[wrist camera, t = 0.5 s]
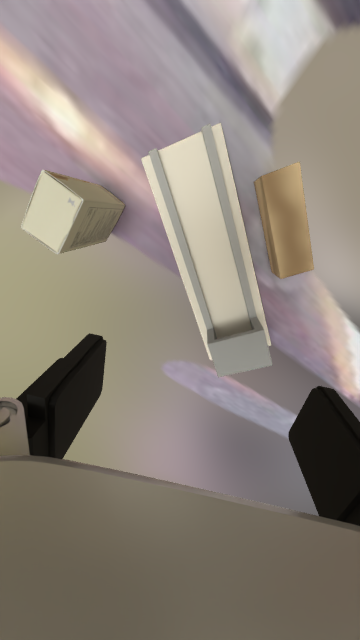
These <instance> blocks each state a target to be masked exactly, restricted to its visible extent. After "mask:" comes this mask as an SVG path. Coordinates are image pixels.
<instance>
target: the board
mask: <svg viewBox="0 0 360 640" xmlns="http://www.w3.org/2000/svg"><path fill="white" fill-rule="evenodd" d="M141 160H142V163H143V166H144V169H145V172H146V174H147V177H148V180H149V183H150V186H151V189H152V192H153V195H154V198H155V201H156V204H157V207H158V210H159V213H160V215H161V218H162V221H163V224H164V227H165V230H166V233H167V236H168V239H169V242H170V245H171V248H172V251H173V254H174V256H175V259H176V262H177V265H178V268H179V271H180V274H181V277H182V280H183V283H184V286H185V289H186V291H187V294H188V297H189V300H190V303H191V306H192V309H193V312H194V315H195V318H196V321H197V324H198V327H199V329H200V333H201V336H202V339H203V341H204V344H205V347H206V350H207V353H208V356H209V359H210V360H213V363H214V366H215V369H216V372H217V375H218V377H222V376H227V375H231V374H236V373H240V372H244V371H249V370H253V369H258V368H263V367H267V366H271V365H272V361H271V356H270V352H269V348H268V346H271V342H270V337H269V333H268V329H267V324H266V320H265V315H264V311H263V307H262V302H261V298H260V293H259V289H258V285H257V280H256V276H255V271H254V267H253V263H252V258H251V254H250V250H249V245H248V241H247V236H246V232H245V228H244V223H243V219H242V214H241V210H240V206H239V201H238V197H237V192H236V188H235V184H234V179H233V175H232V171H231V166H230V162H229V157H228V153H227V149H226V144H225V140H224V135H223V131H222V127H221V123H219V124H217V125H214V126H212V127H211V124H208V125H206V126H204V127H202V131H201V132H199V133H197V134H194V135H192V136H190V137H188V138H186V139H183V140H181V141H179V142H177V143H175V144H172V145H170V146H168V147H166V148H163V149H161V150H159V151H158V150H157V149H156V148H155V149H153V150H151V151H149V155H148V156H146V157H143V158H141Z"/></svg>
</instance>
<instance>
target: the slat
mask: <svg viewBox="0 0 360 640" xmlns="http://www.w3.org/2000/svg"><path fill="white" fill-rule="evenodd" d="M254 185H255V190H256V195H257V200H258V205H259V210H260V215H261V220H262V225H263V230H264V235H265V240H266V245H267V250H268V255H269V260H270V266H271V271H272V273H273V274H275V275H276V276H277V277H279V278H280V279H282V278H286V277H289V276H293V275H296V274H300V273H303V272H307V271H310V270H313V269H314V265H313V258H312V251H311V243H310V235H309V228H308V220H307V213H306V206H305V198H304V191H303V184H302V176H301V168H300V162H297V163H294V164H292V165H289V166H287V167H284V168H282V169H279V170H276V171H274V172H271V173H268V174H266V175H263V176H261V177H260V178H259V179H257V180H256V181H255V182H254Z"/></svg>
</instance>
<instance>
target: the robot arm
mask: <svg viewBox="0 0 360 640" xmlns="http://www.w3.org/2000/svg"><path fill="white" fill-rule="evenodd" d="M105 353H106V340H103V337H102V336H99V335H94V334H88V335H87V336H86V337H85V338H84V339H83V340H82V341H81V342H80V343H79V344H78V345H77V346H76V347H74V348H73V349H72V351H70V352H69V353H68V354H67V355H66V356H65V357H64V358H60V359H58V360H57V361H56V362H55V363H54V364H53V365H52V366H51V367H49V368H48V369H47V371H45V372H44V373H43V374H42V375H41V376H40V377H39V378H38V379H37V380H36V381H35V382H34V383H33V384H31V385H30V386H29V387H28V388H27V389H26V390H25V391H24V392H23V393H22V394H21V395H20V396H19V397H18V398H17V399H13V398H6V397H2V398H0V640H360V422H359V421H358V419H357V418H356V417H355V416H354V414H353V413H352V411H351V410H350V409H349V408H348V406H347V405H346V404H345V403H344V401H343V400H342V399H341V398H340V396H339V395H338V394H337V392H336V391H335V390H334V389H331V388H326V387H322V386H318V387H317V388H314V389H312V390H311V392H310V394H309V396H308V398H307V399H306V401H305V403H304V405H303V407H302V409H301V411H300V413H299V414H298V416H297V418H296V420H295V422H294V423H293V425H292V427H291V429H290V431H289V441H290V443H291V446H292V448H293V451H294V453H295V456H296V458H297V461H298V463H299V466H300V468H301V471H302V474H303V476H304V478H305V481H306V484H307V486H308V489H309V491H310V494H311V496H312V499H313V501H314V504H315V506H316V509H317V511H318V514H319V516H316V515H311V514H307V513H303V512H299V511H295V510H290V509H286V508H282V507H278V506H273V505H269V504H264V503H260V502H256V501H252V500H247V499H243V498H239V497H234V496H230V495H226V494H221V493H217V492H213V491H208V490H204V489H199V488H195V487H191V486H186V485H182V484H177V483H173V482H168V481H164V480H159V479H155V478H151V477H146V476H142V475H137V474H133V473H128V472H123V471H119V470H114V469H110V468H105V467H100V466H95V465H90V464H85V463H81V462H76V461H70V460H64V459H63V457H64V455H65V454H66V452H67V450H68V449H69V447H70V445H71V444H72V442H73V440H74V439H75V437H76V435H77V434H78V432H79V430H80V428H81V427H82V425H83V423H84V422H85V420H86V418H87V417H88V415H89V413H90V412H91V410H92V408H93V407H94V405H95V403H96V401H97V400H98V398H99V396H100V394H101V391H102V385H103V375H104V363H105Z"/></svg>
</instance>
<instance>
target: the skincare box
mask: <svg viewBox="0 0 360 640" xmlns="http://www.w3.org/2000/svg"><path fill="white" fill-rule="evenodd" d="M124 207H125V204H124V203H122V202H121V201H120V200H119V199H118V198H116V197H115V196H114V195H113V194H111V193H110V192H109V191H107V190H106V189H105V188H103V187H102V186H100V185H97V184H94V183H90V182H86V181H83V180H79V179H76V178H72V177H69V176H65V175H61V174H57V173H54V172H50V171H46V170H42V171H41V174H40V176H39V178H38V180H37V183H36V185H35V188H34V190H33V193H32V196H31V199H30V202H29V204H28V207H27V210H26V213H25V216H24V219H23V222H22V225H21V229H23V230H24V231H26V232H27V233H29V235H31V236H32V237H34V238H35V239H36V240H37V241H39V242H40V243H42V244H43V245H44V246H46V247H47V248H48V249H50V250H51V251H53V252H54V253H56V254H60V253H64V252H67V251H71V250H75V249H79V248H83V247H87V246H90V245H94V244H98V243H102V242H105V241H106V240H107V238H108V237H109V235H110V233H111V232H112V230H113V228H114V226H115V224H116V223H117V221H118V219H119V217H120V215H121V213H122V211H123V209H124Z"/></svg>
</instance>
